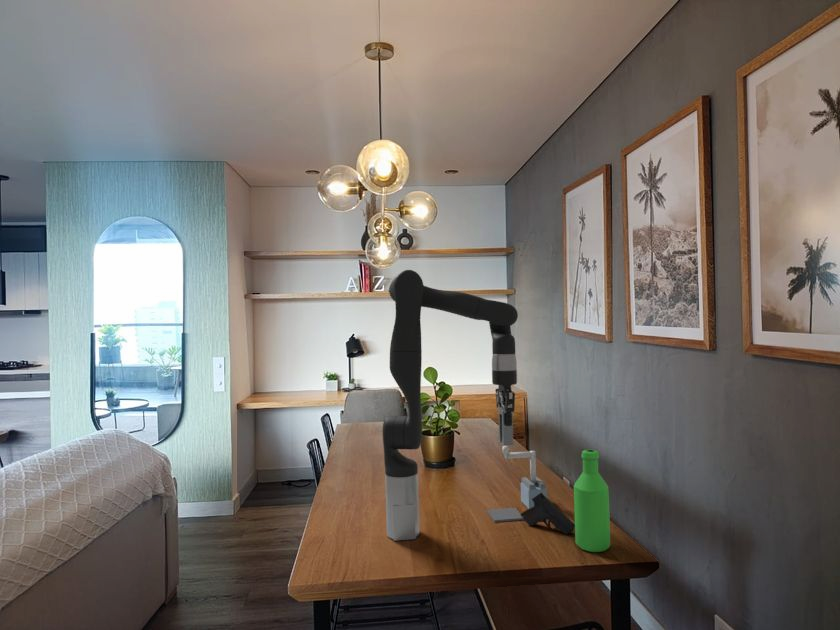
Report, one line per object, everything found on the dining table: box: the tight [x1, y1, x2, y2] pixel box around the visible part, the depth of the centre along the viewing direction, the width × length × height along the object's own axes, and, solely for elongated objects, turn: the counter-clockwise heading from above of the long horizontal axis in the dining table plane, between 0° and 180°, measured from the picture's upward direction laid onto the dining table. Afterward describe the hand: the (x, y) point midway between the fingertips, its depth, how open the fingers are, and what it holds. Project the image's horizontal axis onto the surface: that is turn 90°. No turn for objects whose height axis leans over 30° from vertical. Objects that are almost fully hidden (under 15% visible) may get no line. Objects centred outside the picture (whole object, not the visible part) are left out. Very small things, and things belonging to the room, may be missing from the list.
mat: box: [486, 507, 525, 523], centre depth 166 cm, size 9×9×1 cm
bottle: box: [573, 449, 611, 553], centre depth 143 cm, size 9×9×25 cm
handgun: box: [520, 493, 575, 536], centre depth 156 cm, size 3×14×10 cm
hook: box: [497, 406, 514, 446], centre depth 167 cm, size 5×3×11 cm, turn 6°
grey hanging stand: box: [502, 445, 548, 509], centre depth 176 cm, size 8×13×19 cm, turn 98°
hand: (505, 423), depth 167 cm, fingers closed on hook, 5 cm apart
